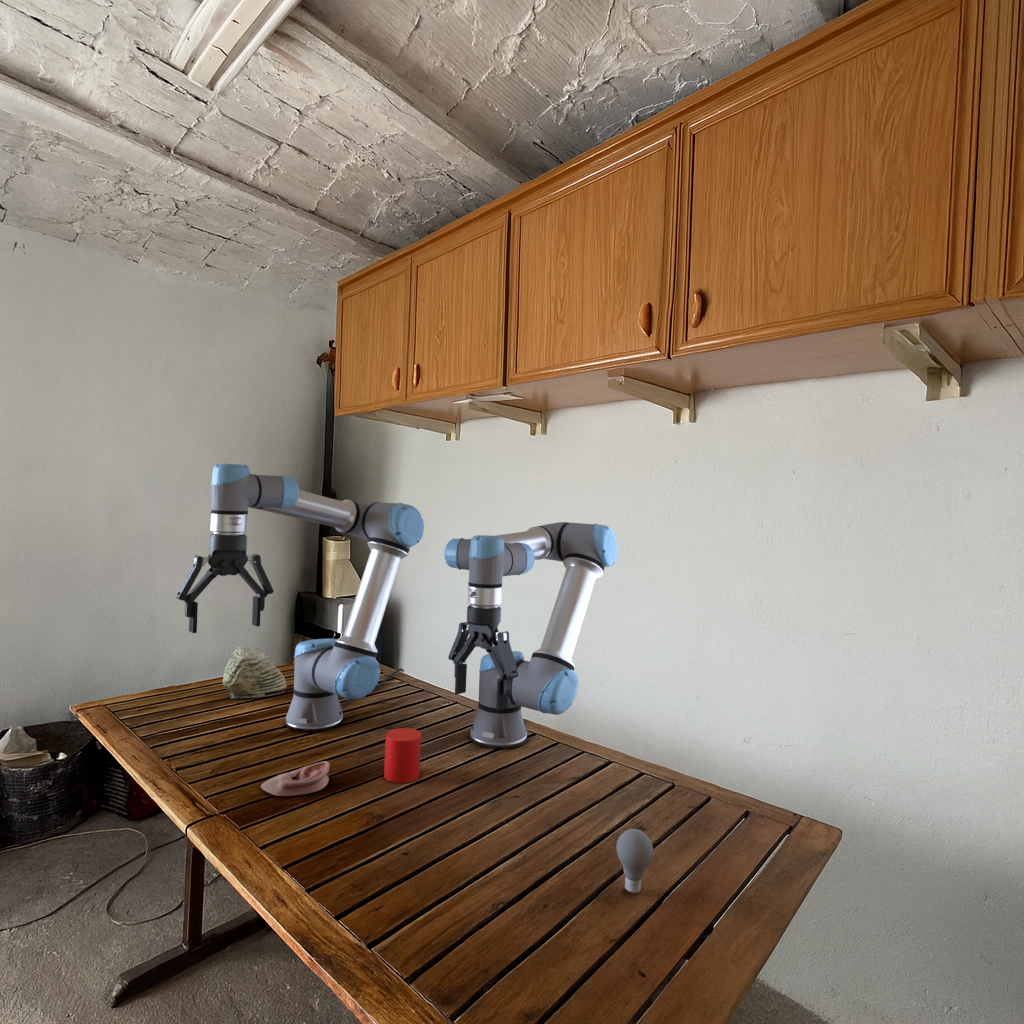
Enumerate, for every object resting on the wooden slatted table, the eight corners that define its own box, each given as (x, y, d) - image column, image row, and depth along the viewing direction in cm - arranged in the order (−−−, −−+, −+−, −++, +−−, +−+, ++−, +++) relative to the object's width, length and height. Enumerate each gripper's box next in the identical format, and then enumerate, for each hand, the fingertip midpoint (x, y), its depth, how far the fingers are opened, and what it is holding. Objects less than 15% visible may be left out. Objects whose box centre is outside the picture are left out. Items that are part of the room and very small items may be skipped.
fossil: (218, 695, 195) (220, 647, 195) (278, 685, 208) (279, 640, 207) (228, 703, 189) (230, 653, 188) (289, 692, 201) (290, 645, 201)
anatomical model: (253, 773, 134) (283, 753, 145) (252, 792, 134) (282, 770, 145) (310, 782, 131) (336, 760, 142) (309, 801, 131) (335, 777, 143)
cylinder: (377, 774, 146) (378, 733, 145) (405, 765, 151) (406, 725, 151) (398, 786, 140) (399, 743, 140) (426, 776, 146) (428, 735, 146)
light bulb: (610, 879, 108) (613, 822, 108) (644, 879, 109) (647, 822, 109) (619, 902, 102) (622, 840, 102) (655, 901, 103) (658, 840, 103)
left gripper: (172, 534, 129) (169, 638, 130) (290, 534, 147) (286, 625, 147) (161, 532, 135) (158, 631, 135) (276, 532, 152) (273, 620, 152)
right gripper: (435, 598, 146) (431, 690, 147) (512, 616, 129) (508, 719, 129) (460, 596, 152) (456, 684, 152) (537, 612, 134) (533, 711, 135)
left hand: (225, 628), depth 141 cm, fingers open, 13 cm apart
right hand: (480, 700), depth 141 cm, fingers open, 13 cm apart
